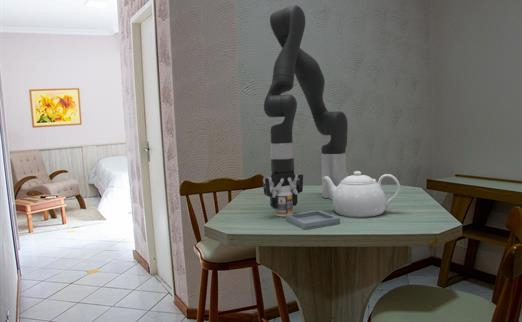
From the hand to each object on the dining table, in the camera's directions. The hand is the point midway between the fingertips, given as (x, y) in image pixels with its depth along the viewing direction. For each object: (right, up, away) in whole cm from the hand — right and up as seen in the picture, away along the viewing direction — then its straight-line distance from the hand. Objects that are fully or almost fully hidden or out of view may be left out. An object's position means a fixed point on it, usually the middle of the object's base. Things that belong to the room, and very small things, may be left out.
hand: (284, 206), depth 140 cm
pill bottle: (0, -3, 0) cm, 3 cm away
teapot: (+25, -2, 0) cm, 25 cm away
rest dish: (+8, -4, -10) cm, 14 cm away
